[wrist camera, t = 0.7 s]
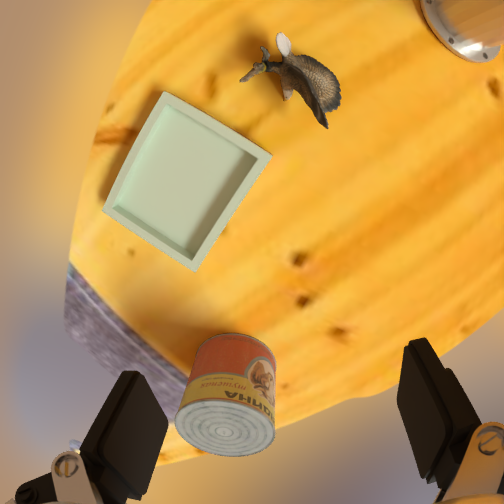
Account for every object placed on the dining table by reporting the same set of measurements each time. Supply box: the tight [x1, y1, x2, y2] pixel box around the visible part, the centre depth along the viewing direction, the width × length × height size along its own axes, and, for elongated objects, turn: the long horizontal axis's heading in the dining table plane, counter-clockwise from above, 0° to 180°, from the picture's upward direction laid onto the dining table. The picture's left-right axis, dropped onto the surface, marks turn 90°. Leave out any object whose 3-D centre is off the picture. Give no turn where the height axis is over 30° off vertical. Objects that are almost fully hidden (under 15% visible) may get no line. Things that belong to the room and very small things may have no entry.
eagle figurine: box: [240, 32, 341, 129], centre depth 26 cm, size 8×7×9 cm
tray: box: [102, 91, 273, 272], centre depth 32 cm, size 15×13×2 cm
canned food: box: [175, 333, 276, 457], centre depth 35 cm, size 11×11×12 cm
